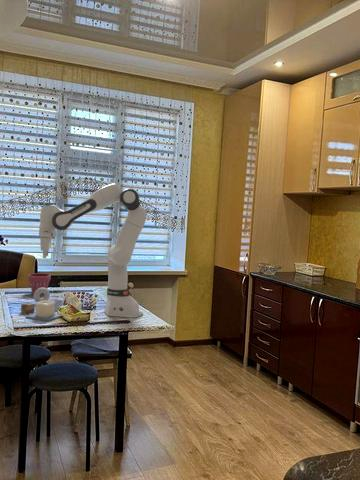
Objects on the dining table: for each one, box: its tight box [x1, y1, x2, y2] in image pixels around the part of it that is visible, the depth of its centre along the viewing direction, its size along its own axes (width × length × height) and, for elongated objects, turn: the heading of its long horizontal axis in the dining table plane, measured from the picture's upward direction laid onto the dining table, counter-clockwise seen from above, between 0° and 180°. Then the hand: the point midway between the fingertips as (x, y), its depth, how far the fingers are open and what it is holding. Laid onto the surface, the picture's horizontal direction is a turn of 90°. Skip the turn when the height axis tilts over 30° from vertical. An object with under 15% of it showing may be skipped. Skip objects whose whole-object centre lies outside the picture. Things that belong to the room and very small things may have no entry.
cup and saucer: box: [25, 300, 61, 323], centre depth 239 cm, size 14×14×8 cm
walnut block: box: [20, 301, 36, 315], centre depth 247 cm, size 5×5×5 cm
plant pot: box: [27, 272, 52, 296], centre depth 298 cm, size 14×14×13 cm
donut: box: [33, 288, 51, 303], centre depth 269 cm, size 10×3×10 cm, turn 128°
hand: (45, 257), depth 254 cm, fingers open, 8 cm apart
